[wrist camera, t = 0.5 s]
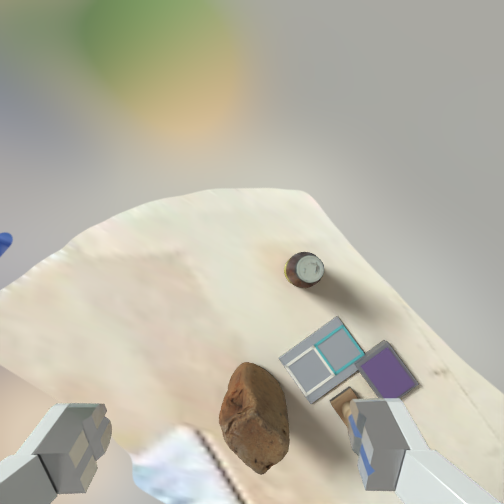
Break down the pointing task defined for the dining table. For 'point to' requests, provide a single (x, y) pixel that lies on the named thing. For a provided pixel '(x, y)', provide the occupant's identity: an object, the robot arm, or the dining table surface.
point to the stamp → (343, 404)
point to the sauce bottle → (304, 269)
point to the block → (255, 418)
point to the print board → (323, 359)
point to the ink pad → (385, 372)
